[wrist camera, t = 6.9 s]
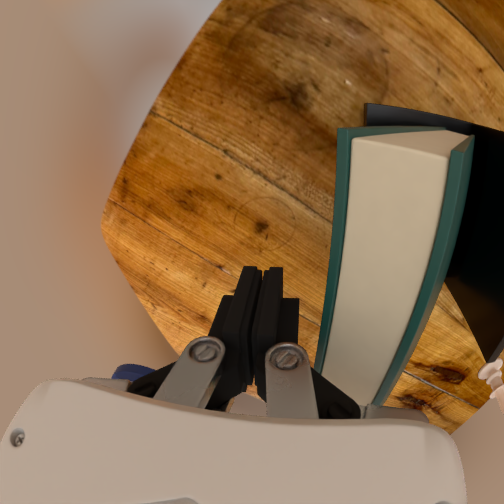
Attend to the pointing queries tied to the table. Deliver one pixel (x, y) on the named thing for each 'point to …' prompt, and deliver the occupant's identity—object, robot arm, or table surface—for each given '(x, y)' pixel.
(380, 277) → the book
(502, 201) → the book stand
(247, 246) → the table surface
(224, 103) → the table surface
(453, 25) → the table surface
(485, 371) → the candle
